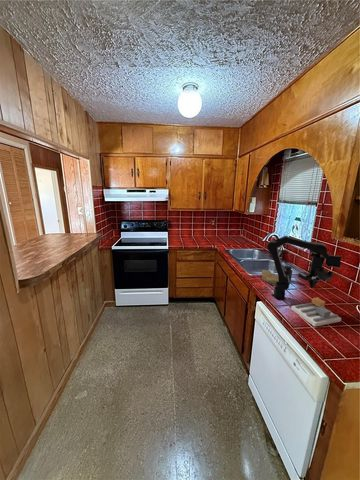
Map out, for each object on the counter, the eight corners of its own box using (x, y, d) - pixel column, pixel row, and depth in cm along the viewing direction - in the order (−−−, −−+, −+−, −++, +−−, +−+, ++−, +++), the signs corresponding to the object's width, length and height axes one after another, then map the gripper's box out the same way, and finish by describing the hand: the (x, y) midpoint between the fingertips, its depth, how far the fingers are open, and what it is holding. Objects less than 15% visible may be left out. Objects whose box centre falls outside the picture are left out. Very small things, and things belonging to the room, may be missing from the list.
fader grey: (315, 313, 111) (316, 307, 110) (320, 312, 112) (322, 306, 111) (323, 319, 106) (324, 312, 105) (329, 318, 107) (330, 311, 106)
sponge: (259, 277, 164) (263, 283, 144) (261, 268, 163) (266, 273, 143) (275, 281, 161) (282, 288, 141) (278, 272, 160) (285, 278, 141)
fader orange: (311, 304, 120) (312, 298, 119) (316, 303, 121) (317, 297, 120) (318, 309, 115) (320, 302, 114) (324, 308, 116) (325, 302, 115)
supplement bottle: (287, 278, 159) (290, 264, 156) (292, 282, 152) (295, 268, 149) (279, 278, 159) (281, 264, 156) (284, 282, 152) (286, 268, 149)
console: (291, 308, 119) (291, 304, 118) (314, 305, 123) (315, 300, 122) (314, 326, 104) (315, 321, 103) (340, 321, 108) (342, 316, 107)
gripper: (316, 271, 106) (311, 296, 110) (343, 268, 110) (336, 292, 114) (299, 263, 116) (295, 287, 120) (324, 261, 121) (319, 283, 125)
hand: (312, 287), depth 120 cm, fingers closed
